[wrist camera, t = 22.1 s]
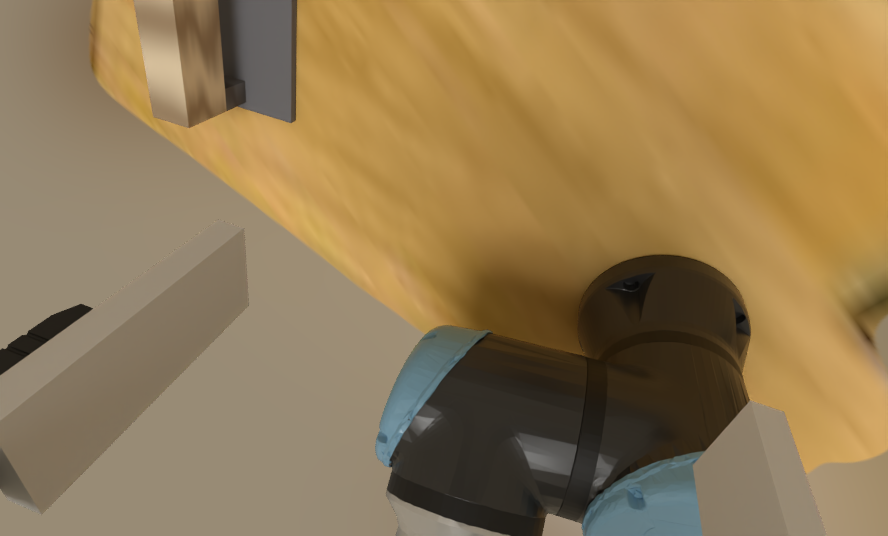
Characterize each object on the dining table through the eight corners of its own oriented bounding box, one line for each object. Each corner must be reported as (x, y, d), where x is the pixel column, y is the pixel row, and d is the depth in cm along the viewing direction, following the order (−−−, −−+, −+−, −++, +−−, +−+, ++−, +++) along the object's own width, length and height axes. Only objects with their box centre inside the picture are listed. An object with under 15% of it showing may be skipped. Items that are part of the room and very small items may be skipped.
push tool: (272, 110, 47) (218, 137, 41) (189, 84, 48) (124, 107, 42) (267, -94, 38) (197, -100, 31) (164, -120, 39) (76, -130, 33)
